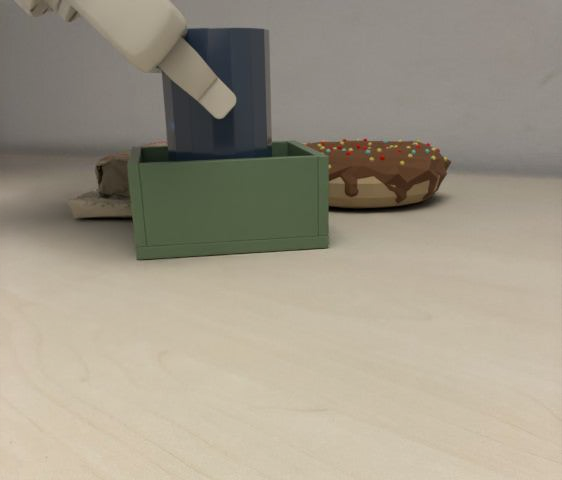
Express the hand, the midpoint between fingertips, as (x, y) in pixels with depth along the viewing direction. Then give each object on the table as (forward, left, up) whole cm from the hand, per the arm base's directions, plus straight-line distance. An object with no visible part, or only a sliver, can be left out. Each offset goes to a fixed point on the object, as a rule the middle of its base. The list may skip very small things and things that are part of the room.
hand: (226, 107), depth 47 cm
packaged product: (-5, +16, -9) cm, 19 cm away
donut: (+13, +11, -9) cm, 19 cm away
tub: (0, 0, -9) cm, 9 cm away
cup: (-1, 0, -5) cm, 5 cm away
